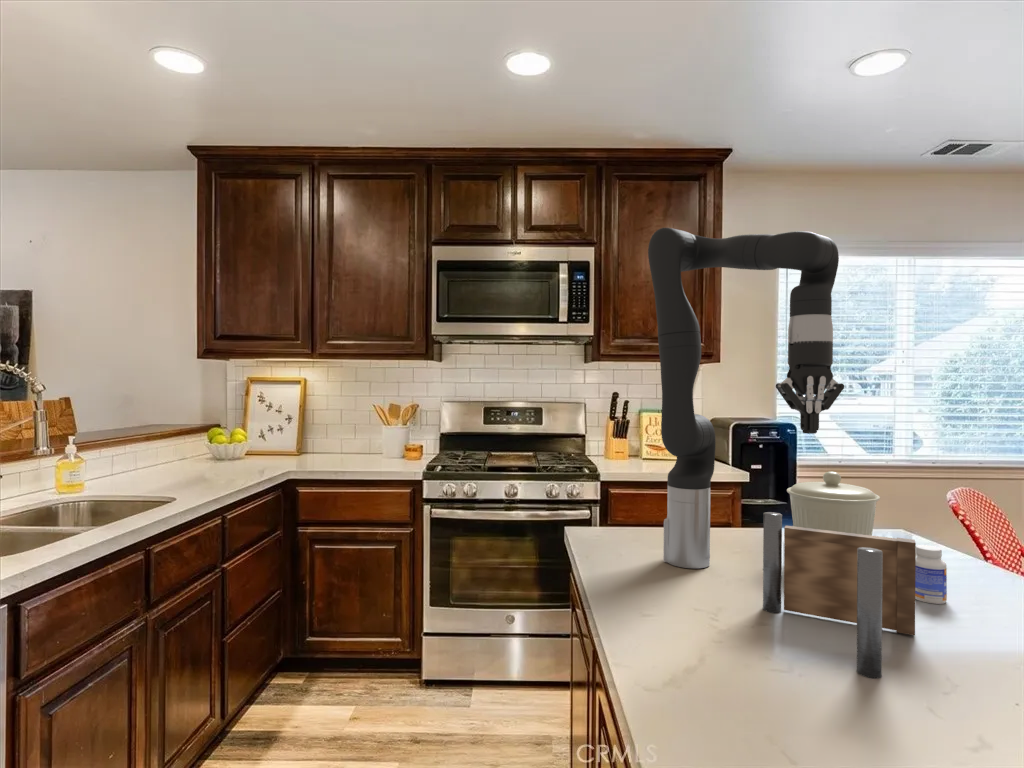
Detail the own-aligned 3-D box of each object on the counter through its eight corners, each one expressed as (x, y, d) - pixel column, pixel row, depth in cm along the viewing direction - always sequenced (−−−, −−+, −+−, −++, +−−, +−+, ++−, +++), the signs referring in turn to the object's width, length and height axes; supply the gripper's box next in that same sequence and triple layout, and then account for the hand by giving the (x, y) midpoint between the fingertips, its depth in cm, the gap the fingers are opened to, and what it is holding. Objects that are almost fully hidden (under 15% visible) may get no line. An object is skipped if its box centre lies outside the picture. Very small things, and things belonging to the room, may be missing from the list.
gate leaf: (783, 611, 104) (784, 527, 104) (785, 606, 106) (785, 524, 106) (914, 635, 94) (915, 542, 94) (913, 630, 96) (914, 539, 96)
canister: (898, 581, 122) (899, 478, 122) (809, 580, 123) (810, 477, 123) (850, 556, 140) (851, 466, 140) (772, 555, 141) (773, 465, 141)
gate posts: (759, 606, 107) (760, 512, 107) (774, 606, 108) (775, 512, 108) (867, 679, 81) (867, 553, 81) (887, 677, 81) (887, 552, 81)
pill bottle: (952, 605, 109) (953, 552, 109) (919, 603, 110) (919, 550, 110) (937, 595, 114) (938, 544, 114) (906, 593, 115) (906, 542, 115)
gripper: (829, 342, 116) (828, 431, 116) (766, 341, 114) (765, 431, 114) (856, 339, 109) (855, 434, 109) (789, 338, 107) (788, 435, 107)
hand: (809, 433), depth 111 cm, fingers closed
